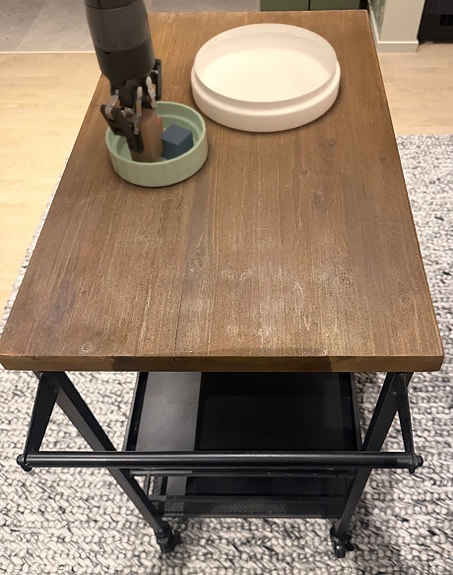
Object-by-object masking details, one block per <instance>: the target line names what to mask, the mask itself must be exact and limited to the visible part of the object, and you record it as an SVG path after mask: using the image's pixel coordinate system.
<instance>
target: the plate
mask: <svg viewBox="0 0 453 575" xmlns="http://www.w3.org/2000/svg"><path fill="white" fill-rule="evenodd" d="M340 66H341V65H340V63H339V61H338V58H337V54H336V51H335V49H334V47H333V46H332V45H331V44H330V42H329V41H328V40H326V39H325V38H324V37H323V36H321V35H319V34H318V33H315V32H313V31H312V30H309V29H307V28H303V27H300V26H296V25H291V24H285V23H269V22H268V23H254V24H246V25H242V26H237V27H234V28H230V29H228V30H225V31H223V32H221V33H218V34H216V35H215V36H213V37H211V38H210V39H209V40H207V42H205V43H204V44H203V45H201V47H200V49H199V50H198V51H197V53H196V54H195V58H194V63H193V65H192V68H191V72H190V83H191V90H192V91H191V92H192V97H193V100H194V102H195V104H196V106H197V107H198V109H199V110H200V111H201V112H202V114H204V115H205V116H206V117H207V118H209V119H211V120H212V121H213V122H215V123H218V124H220V125H222V126H225V127H227V128H229V129H230V128H231V129H233V130H239V131H244V132H251V133H274V132H275V133H276V132H282V131H288V130H292V129H296V128H298V127H302V126H304V125H307V124H308V123H311V122H313V121H315V120H316V119H318V118H320V117H321V116H323V115H324V114H326V112H327V111H328V110H330V108H331V107H332V106H333V105H334V103H335V101H336V99H337V96H338V94H339V88H340V80H341V67H340Z"/></svg>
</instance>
